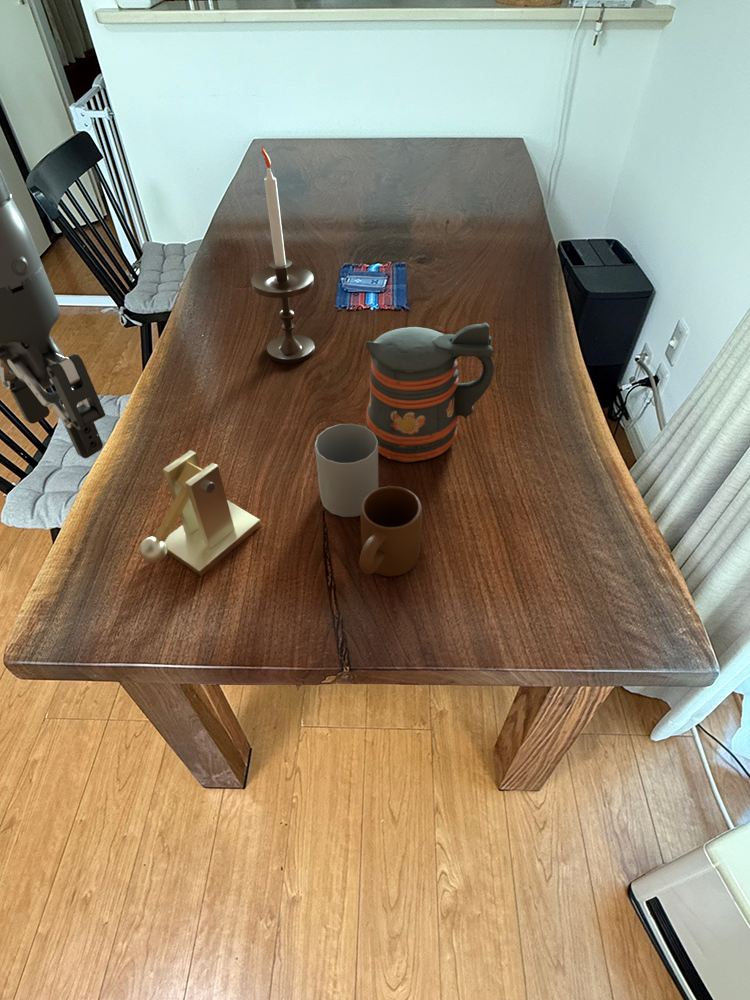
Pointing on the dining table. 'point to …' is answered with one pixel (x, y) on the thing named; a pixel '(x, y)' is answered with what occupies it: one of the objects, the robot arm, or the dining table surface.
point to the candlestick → (282, 283)
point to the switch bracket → (205, 518)
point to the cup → (346, 467)
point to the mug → (390, 531)
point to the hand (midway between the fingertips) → (64, 435)
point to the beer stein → (423, 388)
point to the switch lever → (168, 519)
